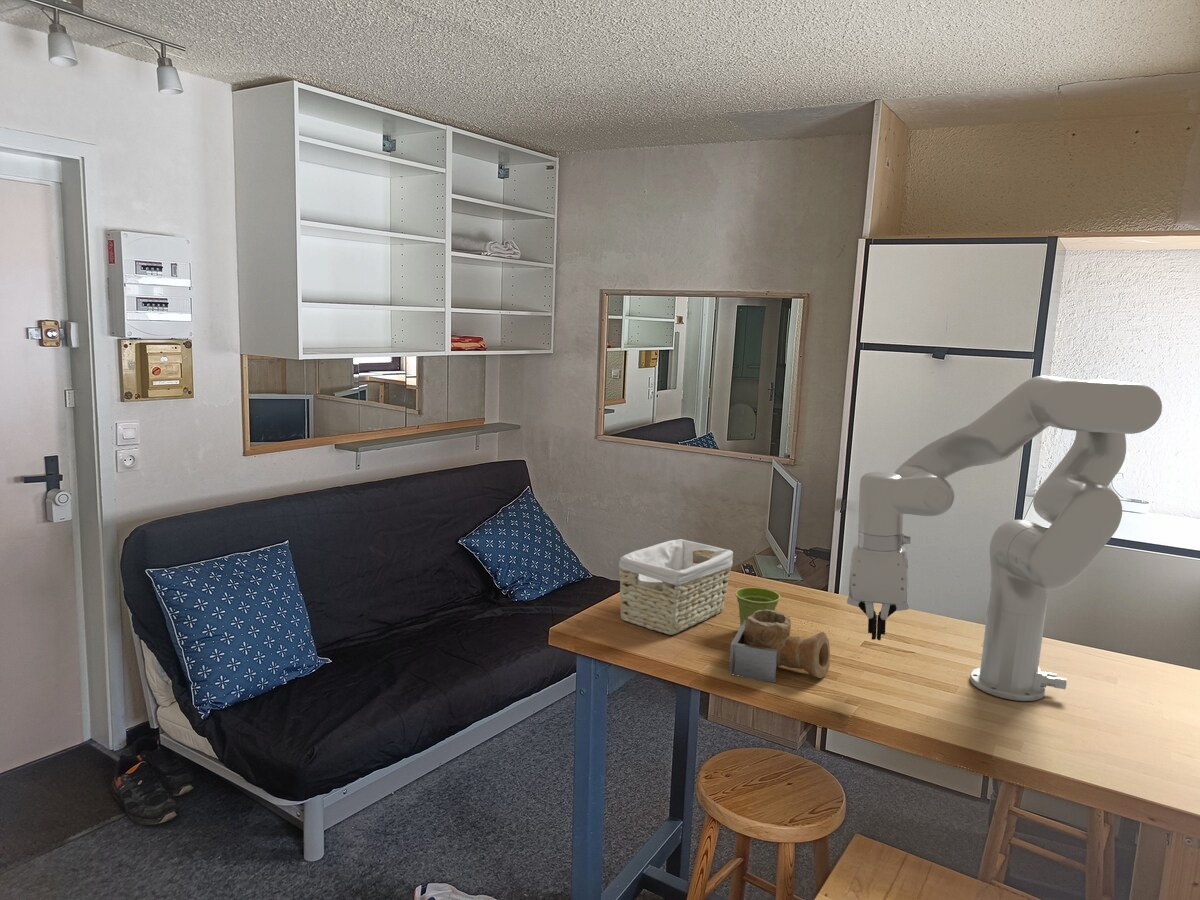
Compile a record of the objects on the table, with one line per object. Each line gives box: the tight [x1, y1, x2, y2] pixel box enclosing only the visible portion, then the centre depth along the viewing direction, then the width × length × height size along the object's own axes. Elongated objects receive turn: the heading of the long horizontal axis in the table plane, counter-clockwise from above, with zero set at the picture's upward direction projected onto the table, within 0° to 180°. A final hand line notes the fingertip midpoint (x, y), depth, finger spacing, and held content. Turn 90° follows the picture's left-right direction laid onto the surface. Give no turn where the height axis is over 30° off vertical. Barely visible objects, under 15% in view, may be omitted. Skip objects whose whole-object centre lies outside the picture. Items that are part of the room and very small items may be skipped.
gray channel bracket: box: [728, 620, 778, 684], centre depth 160 cm, size 8×14×6 cm, turn 160°
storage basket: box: [618, 538, 734, 636], centre depth 184 cm, size 24×16×15 cm
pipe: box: [744, 610, 831, 679], centre depth 158 cm, size 9×16×10 cm, turn 63°
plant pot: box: [734, 586, 781, 627], centre depth 176 cm, size 9×9×9 cm
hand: (876, 637), depth 153 cm, fingers closed
